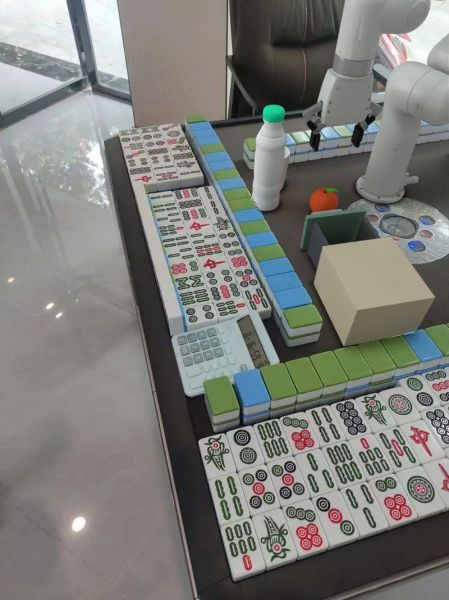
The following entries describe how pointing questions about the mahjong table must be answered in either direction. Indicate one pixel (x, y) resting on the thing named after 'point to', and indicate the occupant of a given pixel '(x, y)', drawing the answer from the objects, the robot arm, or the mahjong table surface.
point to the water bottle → (269, 159)
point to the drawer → (335, 230)
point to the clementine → (324, 200)
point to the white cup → (285, 166)
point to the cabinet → (371, 290)
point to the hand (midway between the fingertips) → (334, 146)
